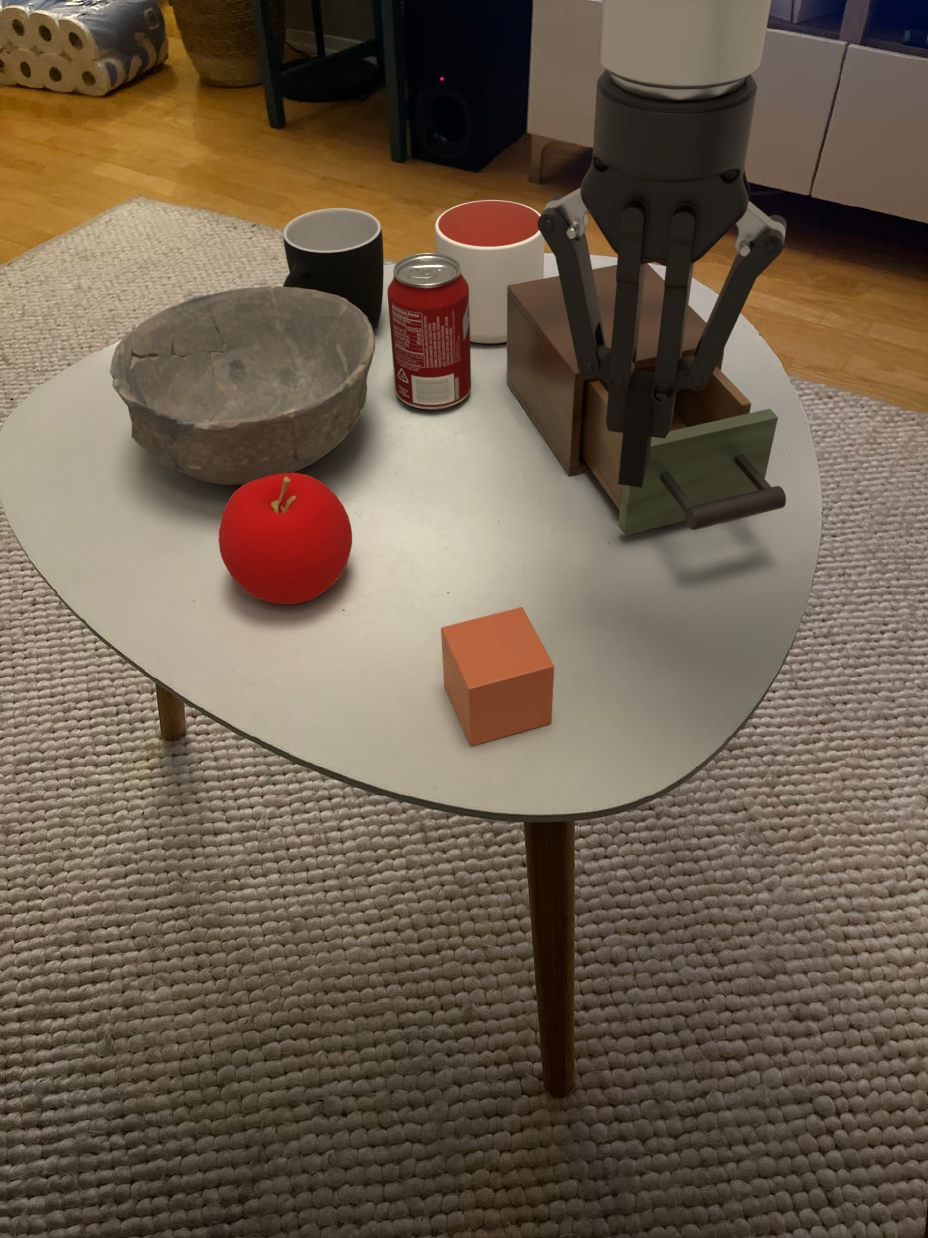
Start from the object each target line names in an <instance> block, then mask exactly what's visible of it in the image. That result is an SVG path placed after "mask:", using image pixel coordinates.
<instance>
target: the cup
mask: <svg viewBox="0 0 928 1238" xmlns="http://www.w3.org/2000/svg"><path fill="white" fill-rule="evenodd" d="M540 216H541V213H540V212H538V211H537V210H536V209H534V208H532V207H530V206H528V205H526V204H522V203H519V202H514V201H510V200H501V199H499V200H498V199H484V200H475V201H470V202H465V203H461V204H458V205H455V206H453V207H451V208H448V209H447V210H445V211H444V212H442V213H441V214H440V215H439V216H438V218H437V219H436V220H435V221H436V222H435V225H434V232H435V233H434V234H435V253H439V254H444V255H448V256H450V257H452V258H454V259H456V260H457V261H458V262H459V264H460V266H461V274H462V276H463V277H464V278H465V280H466V281H467V283H468V285H469V310H470V342H472V343H478V344H502V343H507V286H508V285H512V284H518V283H523V282H528V281H533V280H539V279H544V275H545V274H544V273H545V272H544V271H545V242H546V241H545V239H544V237H543V236H542V234H541V232H540V231H539V228H538V220H539V218H540Z"/></svg>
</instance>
